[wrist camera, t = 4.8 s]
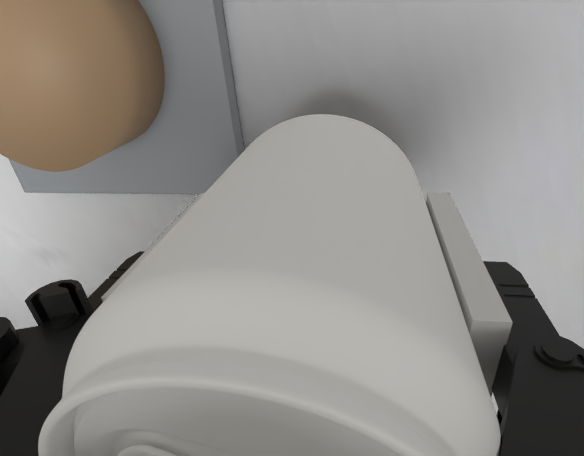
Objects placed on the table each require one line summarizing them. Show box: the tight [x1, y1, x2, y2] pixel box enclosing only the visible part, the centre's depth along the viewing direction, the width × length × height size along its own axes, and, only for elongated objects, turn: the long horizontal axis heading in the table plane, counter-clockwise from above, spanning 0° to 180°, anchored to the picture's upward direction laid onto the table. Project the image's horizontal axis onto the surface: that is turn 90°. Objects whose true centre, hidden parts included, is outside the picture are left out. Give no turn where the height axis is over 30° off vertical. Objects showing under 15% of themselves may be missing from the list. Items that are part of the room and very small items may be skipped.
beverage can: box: [38, 114, 501, 456], centre depth 11 cm, size 8×8×12 cm
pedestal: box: [0, 0, 244, 194], centre depth 18 cm, size 16×16×6 cm
